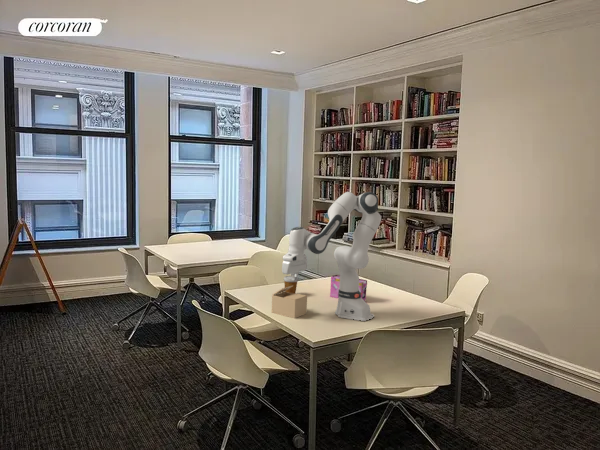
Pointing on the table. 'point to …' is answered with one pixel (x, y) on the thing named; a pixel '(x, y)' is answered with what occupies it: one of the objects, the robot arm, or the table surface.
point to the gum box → (336, 283)
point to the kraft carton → (289, 304)
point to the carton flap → (282, 290)
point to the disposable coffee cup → (290, 284)
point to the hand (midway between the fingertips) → (294, 280)
